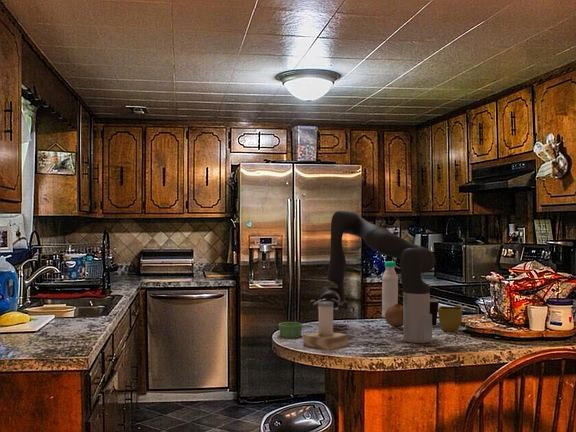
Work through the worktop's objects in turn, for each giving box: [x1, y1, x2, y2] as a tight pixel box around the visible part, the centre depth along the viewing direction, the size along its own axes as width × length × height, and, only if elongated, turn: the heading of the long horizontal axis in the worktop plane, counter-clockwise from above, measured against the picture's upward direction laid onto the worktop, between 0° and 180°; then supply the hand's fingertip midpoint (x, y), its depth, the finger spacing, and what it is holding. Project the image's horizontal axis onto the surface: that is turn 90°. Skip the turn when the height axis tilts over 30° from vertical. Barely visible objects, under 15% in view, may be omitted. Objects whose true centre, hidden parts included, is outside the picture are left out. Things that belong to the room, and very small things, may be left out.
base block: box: [302, 331, 349, 351], centre depth 190 cm, size 11×11×4 cm
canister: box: [317, 302, 334, 336], centre depth 191 cm, size 5×5×11 cm
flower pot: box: [437, 305, 463, 333], centre depth 217 cm, size 9×9×9 cm
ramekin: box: [278, 321, 304, 339], centre depth 206 cm, size 9×9×4 cm
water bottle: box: [381, 261, 399, 319], centre depth 248 cm, size 7×7×25 cm
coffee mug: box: [430, 298, 440, 327], centre depth 232 cm, size 12×9×10 cm
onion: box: [384, 303, 403, 329], centre depth 222 cm, size 10×9×10 cm
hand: (327, 307), depth 200 cm, fingers open, 8 cm apart
